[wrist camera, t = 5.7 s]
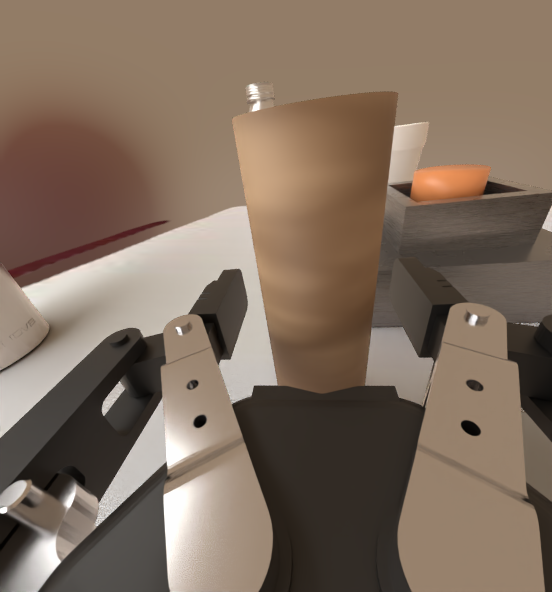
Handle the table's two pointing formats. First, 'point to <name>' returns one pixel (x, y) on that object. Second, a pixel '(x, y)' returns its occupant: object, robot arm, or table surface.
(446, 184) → the breaker button
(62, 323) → the table surface
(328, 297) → the stick
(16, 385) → the table surface
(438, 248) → the grey button housing
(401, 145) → the foam cup
